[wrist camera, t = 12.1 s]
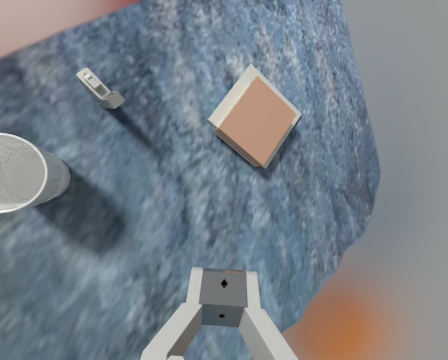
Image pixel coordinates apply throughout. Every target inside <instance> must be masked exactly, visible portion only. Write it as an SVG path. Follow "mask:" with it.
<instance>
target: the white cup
mask: <svg viewBox="0 0 448 360" xmlns="http://www.w3.org/2000/svg"><path fill="white" fill-rule="evenodd" d="M70 178H71V176H70V172H69V169H68V166H67V165H66V164H65V163H64V162H63V161H62V160H61V159H60V158H58V157H56V156H55V155H53V154H52V153H50V152H48V151H47V150H45V149H43V148H41V147H39V146H37V145H35V144H33V143H31V142H29V141H27V140H25V139H23V138H20V137H18V136H14V135H10V134H4V133H0V213H8V212H13V211H16V210H20V209H23V208H27V207H31V206H35V205H38V204H41V203H44V202H47V201H49V200H52V199H54V198H56V197H59V196H61V194H62V193H63V192H64V191H65V190H66V189H67V188H68V186H69V182H70Z"/></svg>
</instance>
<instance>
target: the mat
mask: <svg viewBox="0 0 448 360" xmlns="http://www.w3.org/2000/svg"><path fill="white" fill-rule="evenodd" d="M257 76H258V77H259V78H260V79H261V80H262V81H263V82H264V83H265V84H266V85H267V86H268V87H269V88H270V89H271V90H272V91H273V92H274V93H275V94H276V95H278V96H279V97H280V98H281V99H282V100H283V101H284V102H285V103H286V104H287V105H288V106H289V107H290V108H291V109H292V110H293V111H294V112H295V113H296V114H297V115H296V116H295V118H294V119H293V121H292V122H291V124H290V125H289V127H288V129H287V130H286V132H285V133H284V135H283V136H282V138H281V139H280V141H279V142H278V144H277V145H276V147H275V148H274V150H273V151H272V153H271V155H270V156H269V158H268V159H267V161H266V162H265V164H264V165H263V166H261V167H263V168H264V169H266V168H267V167H268V165H269V163H270V162H271V160H272V159H273V157H274V156H275V154H276V153H277V151H278V150H279V148H280V147H281V145H282V143H283V142H284V140H285V139H286V137H287V136H288V134H289V133H290V131H291V130H292V128H293V127H294V125H295V123H296V122H297V120H298V119H299V117H300V116H301V113H300V112H299V111H298V110H297V109H296V108H295V107H294V106H293V105H292V104H291V103H290V102H289V101H288V100H287V99H286V98H285V97H284V96H283V95H282V94H281V93H280V92H279V91H278V90H277V89H276V88H275V87H274V86H273V85H272V84H271V83H270V82H269V81H268V80H267V79H266V78H265V77H264V76H263V75H262V74H261V73H260V72H259V71H258V70H257V69H256V68H255V67H254V66H253V65H252V64H250V65H249V67H248V68H247V69H246V71H245V72H244V73H243V75H242V76H241V77H240V78H239V80H238V81H237V82H236V84H235V85H234V86H233V88H232V89H231V90H230V91H229V93H228V94H227V95H226V97H225V98H224V99H223V101H222V102H221V103H220V105H219V106H218V107H217V108H216V110H215V111H214V112H213V114H212V115H211V116H210V118H209V119H208V120H207V121H208V122H209V123H211V124H212V125H213V126H214V127H215V128H217V127H218V125H219V124H220V122H221V121H222V120H223V118H224V117H225V116H226V114H227V113H228V112H229V110H230V109H231V108H232V106H233V105H234V104H235V102H236V101H237V100H238V98H239V97H240V96H241V94H242V93H243V92H244V90H245V89H246V88H247V86H248V85H249V84H250V83H251V82H252V81H253V80H254V79H255V78H256V77H257Z"/></svg>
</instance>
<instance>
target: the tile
mask: <svg viewBox="0 0 448 360" xmlns="http://www.w3.org/2000/svg"><path fill="white" fill-rule="evenodd" d="M296 115H297V114H296V113H295V112H294V111H293V110H292V109H291V108H290V107H289V106H288V105H287V104H286V103H285V102H284V101H283V100H282V99H281V98H280V97H279V96H278V95H276V94H275V93H274V92H273V91H272V90H271V89H270V88H269V87H268V86H267V85H266V84H265V83H264V82H263V81H262V80H261V79H260V78H259V77H258V76H257V77H256V78H255V79H254V80H253V81H252V82H251V83H250V84H249V85H248V86H247V88H246V89H245V90H244V92H243V93H242V94H241V96H240V97H239V98H238V100H237V101H236V102H235V104H234V105H233V106H232V108H231V109H230V110H229V112H228V113H227V114H226V116H225V117H224V118H223V120H222V121H221V122H220V124H219V125H218V127H217V128H216V129H215V131H214V133H215V134H216V135H217V136H219V137H220V138H221V139H222V140H223V141H225V142H226V143H227V144H228V145H229V146H230V147H232V148H233V149H234V150H235V151H236V152H238V153H239V154H240V155H241V156H242V157H244V158H245V159H246V160H247V161H248V162H250V163H251V164H252V165H253V166H254V167H259V166H263V165H264V164H265V162H266V161H267V159H268V158H269V156H270V155H271V153H272V151H273V150H274V148H275V147H276V145H277V144H278V142H279V141H280V139H281V138H282V136H283V135H284V133H285V132H286V130H287V129H288V127H289V125H290V124H291V122H292V121H293V119H294V118H295V116H296Z"/></svg>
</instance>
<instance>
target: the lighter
mask: <svg viewBox="0 0 448 360" xmlns="http://www.w3.org/2000/svg"><path fill="white" fill-rule="evenodd" d="M77 77H78V79H79V80H80V82H81V84H82V85H83V87H84V88H85V90H86V91H87V92H88V93H89V94H90V95H91V96H92V97H93V98H94V99H95V100H96V101H98V102H99V103H100V104H101V105H102V106H103V107H104V108H105V109H108V108H112V109H115V108H117V107H118V106H119V105H121V104H122V103H123V102H124V101H125V99H124V98H123V97H122V96H121V95H120V93H119V92H118V91H112V92H110V90H109V89H108V88H107V87H106V86H105V85H104V84H103V83H102V82H101V81H100V80H99V79H98V78H97V77H96V76H95V75H94V74H93V73H92V72H91V71H90V70H89V69H88V68H84V69H83V70H81V71H80V72H79V73H77Z"/></svg>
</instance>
